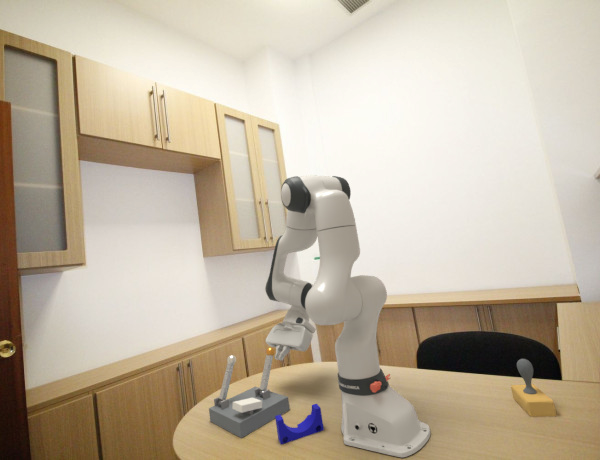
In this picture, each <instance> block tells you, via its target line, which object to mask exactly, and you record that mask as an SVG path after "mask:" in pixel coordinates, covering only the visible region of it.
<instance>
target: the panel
mask: <svg viewBox="0 0 600 460" xmlns="http://www.w3.org/2000/svg"><path fill="white" fill-rule="evenodd" d="M259 390H261V389H260V386H258V387H257V386H254V387H251V388H249V389H247V390H245V391H243V392H241V393H239V394H235V396H232V397H230V398H226V400H224V401H222V402H221V406H220V405H218V404H217V400H218V399H219V396H218V397H216V398H213V402H214V404H213V406H210V407H209V408H208V412H209V413H208V414H209V421H210V422H211V423H212V424H214V425H216V426H217V427H219V428H222V429H223V430H225V431H226V432H229V433H231V434H233V435H235V436H237V437H238V438H240V439H243V438H244V437H246V436H247V435H249V434H251V433H253V432H255V431H256V430H258V429H260V428H262V427H263V426H265V425H266V424H268V423H270V422H272V421H273V420H276V419H275V416H277V415H281V416H282V415H283V414H286V413H288V412H289V411H290V410H291V409H290V401H289V396H286V395H283V394H280V393H277V392H274V391H271V390H270V389H269V388H267V390H266V391H265V390H263V391H264V392H262V393H263V396H260V395H258V391H259ZM248 398H255V399H258V400H261V401H262V408H259V409H255V410H251V411H247V412H243V413H241V412H239V411H237V410H234V409H232V408H233V402H235V401H239V400H244V399H248Z"/></svg>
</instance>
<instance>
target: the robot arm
mask: <svg viewBox="0 0 600 460" xmlns="http://www.w3.org/2000/svg"><path fill="white" fill-rule="evenodd" d="M280 198H281V199H280V200H281V203H282V205H283V206H284V208H285V209H287V213H286V220H285V221H286V223H285V231H284V232H283V234H282V235H280V236H279V237H278V238H277V241H276V243H275V245H274V251H273V254H272V261H271V266H270V268H269V269H270V270H269V274H268V277H267V281H266V284H265V288H264V289H265V290H264V291H265V293H266V295H267V297H268V299H269V300H270V301H273V302H279V303H283V304H286V305H290V308H289V309H288V310H287V312H286V314H285V316H284V318H283V320H282V322H279V323H277V324H276V325H274V326H273V327H272V328H271V329H270V331H269V333H268V335H267V336H266V338H265V344H267V345H268V347H272V348H275V353H274V356H273V357H274V359H275V360H276V361H284V359H285V357H286V356H287V355H288V354H289V353H290V351H291V350H293V351H298V352H306V351H307V350H308V349H309V347H310V345H311V342H312V340H313V337H314V333H315V332H316V327H315V326H313V324H311V323H310V320H311V321H312V322H313V323H314V324H315V325H318V326H335V325H338V324H341V323H343V327H342V330H341V332H340V334H339V336H338V337H337V338H336V340H335V343H334V352H335V356H336V357H335V358H336V365H337V369H338V371H337V384H338V388H339V390H340V394H341V410H342V411H341V415H342V416H341V427H340V430H341V433H342V434H343V444H344V445H346V446H350V447H355V448H358V449H359V448H360V449H362V450H367V451H371V452H376V453H379V454H384V455H387V456H388V455H389V456H392V457H398V458H407V457H409V456H411V455H412V456H413V454H415V453H417V452H418V451H420V450H421V449H422V448H423V447H424V446H425V444H426V443H428V441H429V439H430V437H431V429H430V426H429V424H428V423H425V422H423V421H421V420H419V417H418V414H417V412H416V409H415V407H414V405H413V404H412V403H411V402H410V401H409V400H407V399H406V398H405V397H404V396H403V395H401V394H400V393H399V392H398V391H396V389H394V388H393V387H391V386H390V385H389V380H390V379H391V377H390V376H391V374H390V373H388V374H387V375H385V373H384V371H383V370H382V367H380V361H379V360H380V359H379V353H378V345H377V329H378V323H379V317H380V314H381V312H382V309H383V307H384V305H385V304H386V303H387V298H388V294H387V289H386V286H385V284H384V282H383V281H382V280H381V279H380V278H379V277H378V276H373V275H365V274H364V275H363V274H362V275H357V276H355V275H354V276H351V275H352V269H353V266H354V263H355V262H356V261H357V260H358V258H359V257H360V254H361V248H360V242H359V235H358V230H357V223H356V218H355V215H354V214H355V213H354V211H353V207H352V205H351V202H350V199H351V187H350V184H349V183H348V180H346V178H344V177H340V176H336V175H332V176H331V175H330V176H327V175H317V174H314V175H313V174H311V175H303V176H297V175H295V176H291V177H287V178H286V179H285V180H284V181H283V183H282V184H281V188H280ZM316 241H318V243H317V244H318V249H319V250H318V251H319V267H318V273H317V276H316V278H315V281H314V283H313V284H312V283H310V282H308V281H305V280H303V279H297V278H294V277H290V276H287V275H286V274H285V273H284V271H285V266H286V262H287V258H288V255H289V254H291V253H297V252H302V251H303V252H304V251H305V250H307V249H309V248H311V247H312V246H314V245H315V243H316Z"/></svg>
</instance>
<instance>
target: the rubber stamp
mask: <svg viewBox="0 0 600 460" xmlns="http://www.w3.org/2000/svg"><path fill="white" fill-rule="evenodd" d="M516 368H517V371H518V373H519V374H520V376H521V378H522V379H523V381H524V384H511V385H510V389H511V394H512V398H513V399H514V401H516V403H517V404H518V405H519V406H520V408H521V409H522V410H523V411H524V412H525V413H526V414H527V415H528V416H529V417H530V418H537V417H538V418H540V417H556V416H557V412H556V408H555V403H554V400H553V399H552V398H550V397H549V396H548V394H546V393H544V392H543V391H542V390H541V389H540V388H539V387H537V385H535V384H533V383H532V382H533V381H532V380H533V376H534V367H533V364H532V362H530V361H529V360H528V359H526V358H520V359H519V360H517V362H516Z"/></svg>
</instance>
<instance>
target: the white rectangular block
mask: <svg viewBox="0 0 600 460" xmlns="http://www.w3.org/2000/svg"><path fill="white" fill-rule="evenodd" d="M259 408H262V401H261V400H258V399H255V398H248V399H244V400H239V401H235V402H233V408H232V409H234V410H237V411H239V412H241V413H243V412H247V411H251V410H255V409H259Z"/></svg>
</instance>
